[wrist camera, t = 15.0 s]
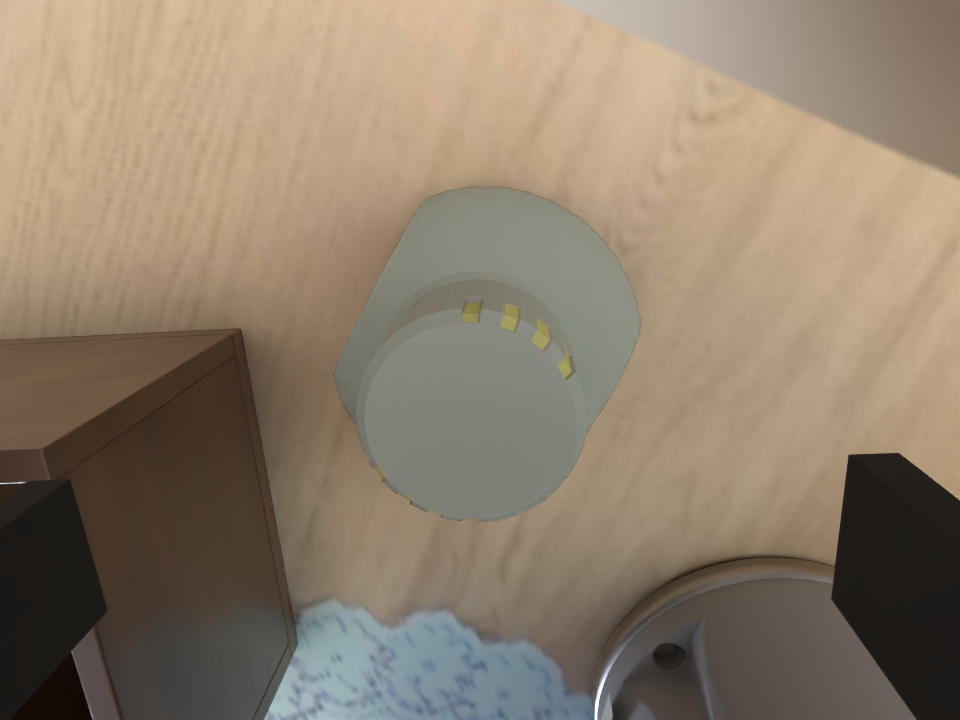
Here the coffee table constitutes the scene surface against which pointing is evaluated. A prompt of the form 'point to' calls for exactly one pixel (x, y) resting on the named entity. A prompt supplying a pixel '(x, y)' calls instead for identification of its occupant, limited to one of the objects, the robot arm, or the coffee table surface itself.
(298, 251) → the coffee table surface
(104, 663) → the chest
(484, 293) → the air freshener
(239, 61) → the coffee table surface
